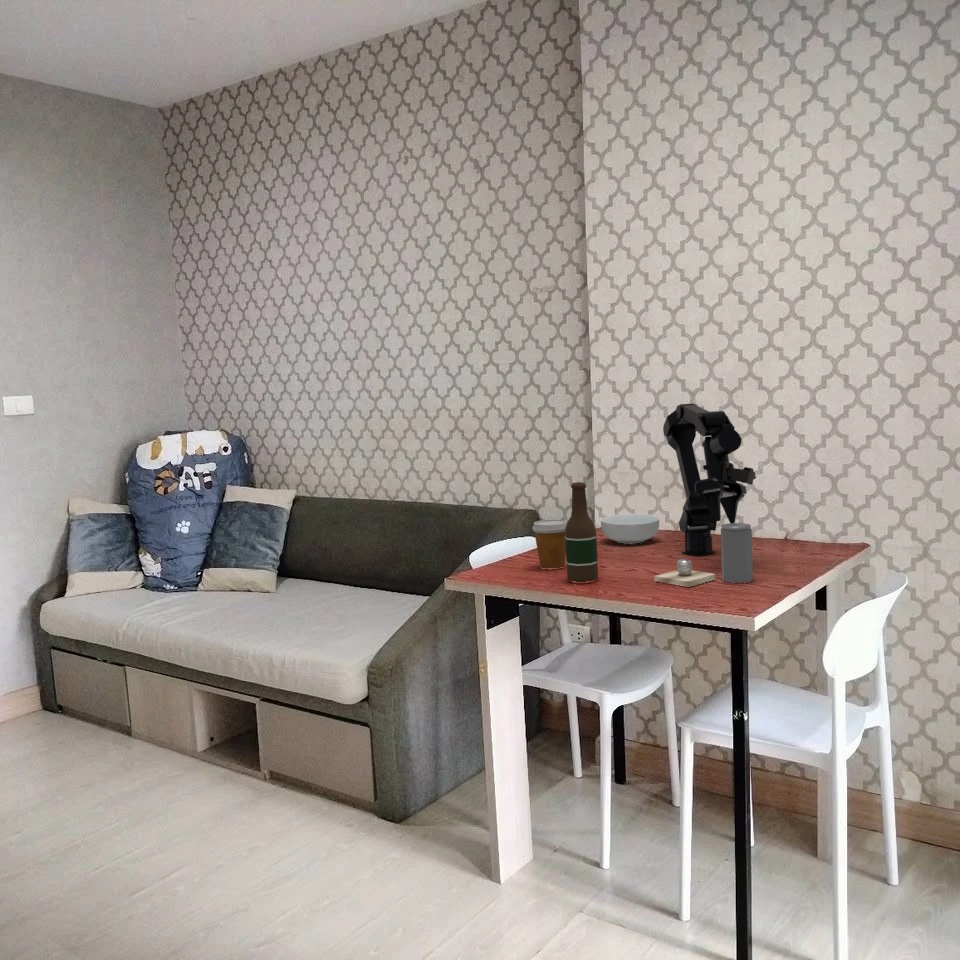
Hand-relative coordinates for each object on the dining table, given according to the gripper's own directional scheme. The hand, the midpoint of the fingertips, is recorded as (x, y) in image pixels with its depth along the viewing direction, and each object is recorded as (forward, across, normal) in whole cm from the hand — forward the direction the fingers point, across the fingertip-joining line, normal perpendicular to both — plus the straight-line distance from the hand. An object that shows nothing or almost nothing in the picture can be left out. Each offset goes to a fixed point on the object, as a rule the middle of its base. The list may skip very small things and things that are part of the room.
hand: (725, 522), depth 234 cm
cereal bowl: (-1, +25, +39) cm, 47 cm away
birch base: (+14, -14, +6) cm, 21 cm away
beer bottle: (+11, -22, +29) cm, 39 cm away
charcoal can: (+15, -8, -4) cm, 18 cm away
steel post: (+12, -14, +6) cm, 20 cm away
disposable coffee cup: (+6, -13, +43) cm, 46 cm away
